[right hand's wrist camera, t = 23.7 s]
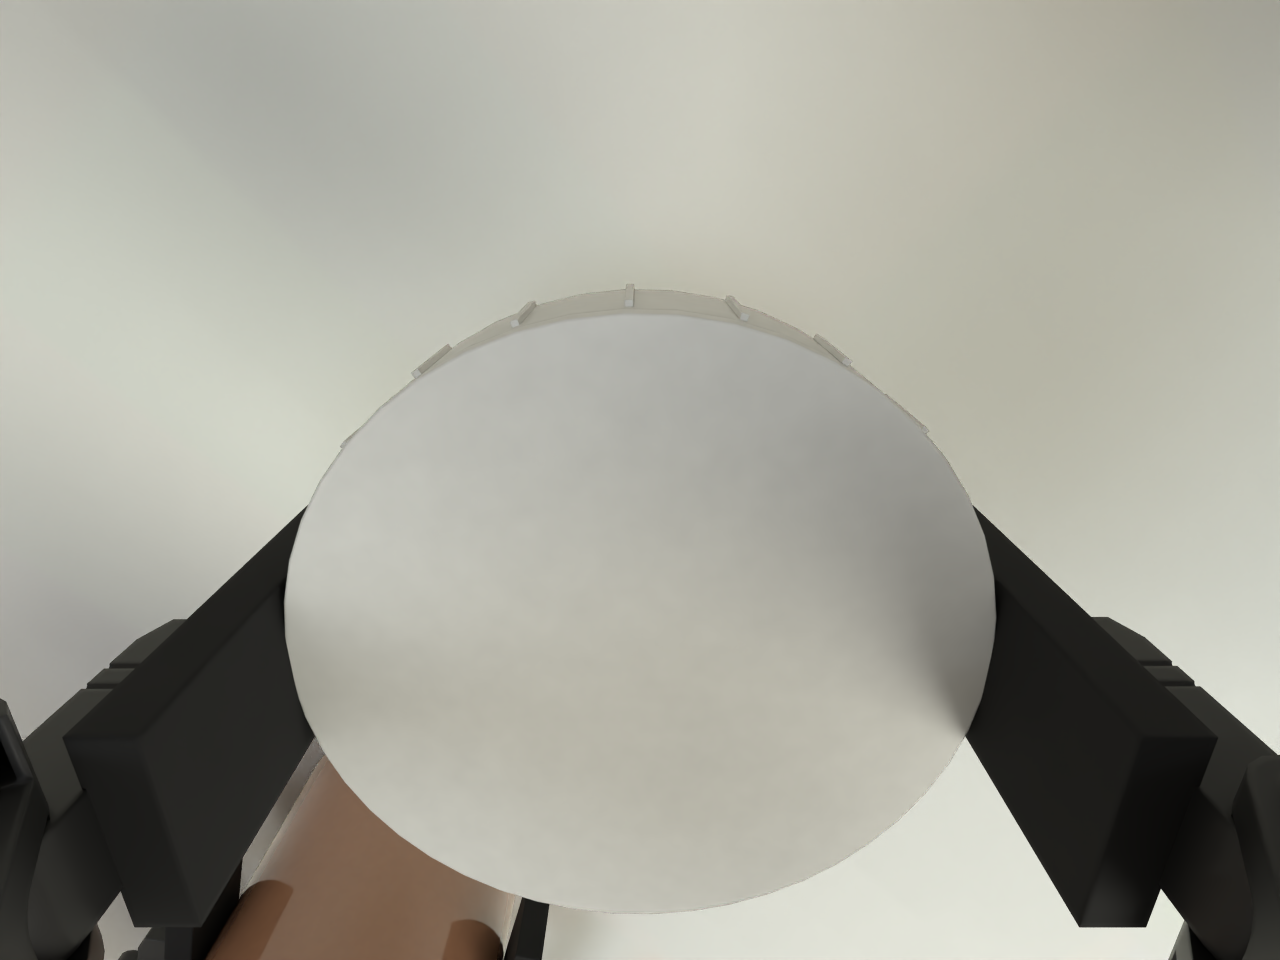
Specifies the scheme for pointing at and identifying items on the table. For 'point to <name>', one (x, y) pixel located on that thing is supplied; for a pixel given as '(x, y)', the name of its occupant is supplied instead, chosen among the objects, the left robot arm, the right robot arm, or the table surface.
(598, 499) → the lid
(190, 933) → the left robot arm
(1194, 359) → the table surface
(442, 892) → the jar
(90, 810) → the right robot arm
